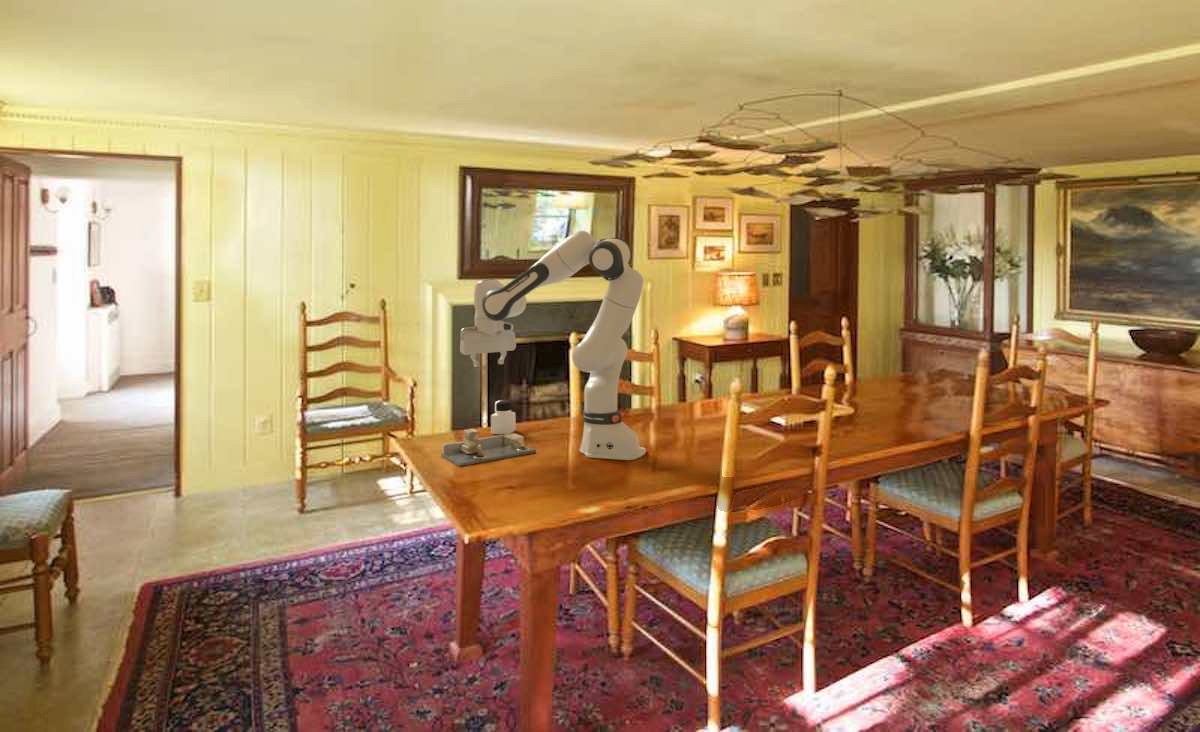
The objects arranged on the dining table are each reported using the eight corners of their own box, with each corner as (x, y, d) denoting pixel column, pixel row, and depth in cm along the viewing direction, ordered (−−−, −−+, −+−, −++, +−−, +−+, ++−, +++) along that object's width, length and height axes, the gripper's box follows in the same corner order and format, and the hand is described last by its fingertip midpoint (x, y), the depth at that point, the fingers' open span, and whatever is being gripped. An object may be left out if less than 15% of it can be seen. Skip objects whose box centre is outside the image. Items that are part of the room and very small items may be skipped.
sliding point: (474, 448, 253) (474, 428, 251) (487, 454, 245) (487, 434, 244) (461, 450, 250) (460, 430, 249) (473, 457, 242) (473, 436, 241)
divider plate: (515, 443, 263) (515, 432, 263) (535, 452, 252) (535, 441, 251) (441, 456, 248) (440, 444, 247) (459, 466, 236) (458, 454, 236)
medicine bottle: (516, 430, 282) (515, 399, 280) (508, 435, 275) (508, 403, 274) (498, 429, 284) (497, 398, 282) (490, 433, 277) (490, 402, 275)
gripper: (464, 328, 249) (465, 369, 251) (517, 324, 261) (518, 363, 263) (456, 327, 254) (457, 367, 256) (508, 323, 266) (509, 361, 268)
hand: (488, 365), depth 260 cm, fingers open, 8 cm apart
